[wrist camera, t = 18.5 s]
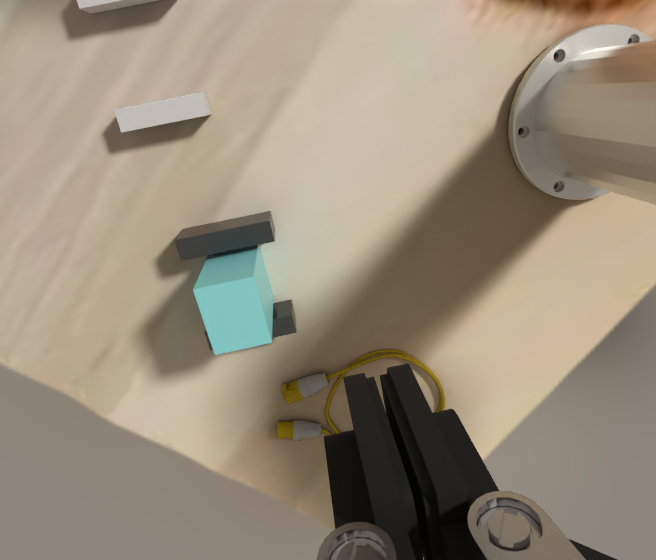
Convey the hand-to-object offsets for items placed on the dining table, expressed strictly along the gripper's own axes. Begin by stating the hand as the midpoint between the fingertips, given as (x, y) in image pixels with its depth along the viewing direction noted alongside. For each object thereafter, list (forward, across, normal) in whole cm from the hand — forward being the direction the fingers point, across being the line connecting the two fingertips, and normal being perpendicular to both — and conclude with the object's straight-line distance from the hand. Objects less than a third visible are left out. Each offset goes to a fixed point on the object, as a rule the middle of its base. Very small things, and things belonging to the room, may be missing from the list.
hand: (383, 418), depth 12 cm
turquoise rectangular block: (+27, +7, +5) cm, 29 cm away
